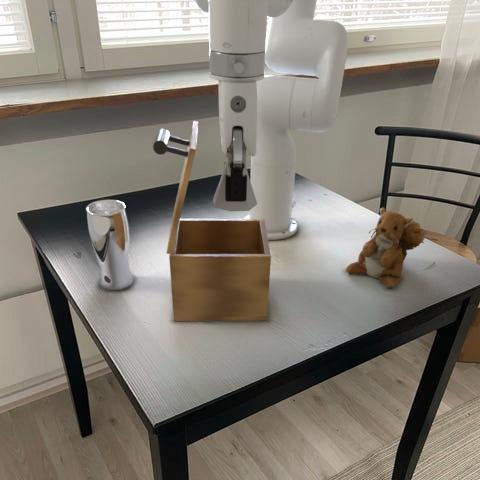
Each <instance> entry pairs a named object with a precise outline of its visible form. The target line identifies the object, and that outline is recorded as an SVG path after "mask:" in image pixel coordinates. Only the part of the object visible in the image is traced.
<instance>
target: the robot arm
mask: <svg viewBox="0 0 480 480" xmlns="http://www.w3.org/2000/svg"><path fill="white" fill-rule="evenodd" d="M194 3H195V5H196V6H197V7H198V8H199V9H200V10H201V11H202V12H204V13H205V14H208V42H209V43H208V48H209V50H208V56H209V57H208V58H209V61H208V62H209V78H211V79H212V80H215V81H217V82H218V83H217V84H218V117H219V118H218V123H219V133H220V143H221V150H222V154H223V155H224V156H225V158H226V157H227V175H225V200H226V201H238V202H244V201H246V197H247V175H246V168H247V154H248V155H250V176H249V179H250V182H251V185H252V188H253V192H254V195H255V198H256V201H257V205H256V206H255V207H253V208H252V209H251V210H249V211H248V215H246V216H245V217H244V218H243V219H264V221H265V227H266V232H267V237H268V241H269V240H271V241H272V240H273V241H277V240H283V239H287V238H289V237H292V236H293V235H295V234H296V233H297V231H298V222H297V220H296V219H295V218H294V217H292V216H293V215H292V213H293V209H294V208H295V207H296V206H297V202H296V200H295V199H294V191H295V180H296V170H297V168H296V167H297V159H298V158H297V157H298V152H297V146H296V143H295V141H294V139H293V138H292V137H293V136H291V135H290V133H289V131H298V132H306V133H307V132H308V133H326V132H328V131H330V130H331V129H332V128H333V127H334V125H335V123H336V120H337V115H338V110H339V105H340V100H341V93H342V86H343V81H344V75H345V68H346V63H347V55H348V45H349V43H348V42H349V41H348V32H347V30H346V29H347V28H346V27H345V26H344V25H343V24H342V23H340V22H338V21H334V20H325V19H314V17H315V11H316V5H317V0H194ZM266 67H267V68H268V69H269V70H270V71H272V72H275V73H279V74H286V75H279V74H278V75H277V74H274V75H273V74H272V75H271V74H269V75H265V70H266ZM291 75H295V76H291ZM296 75H297V76H296ZM300 76H301V77H300ZM303 76H308V77H303ZM309 76H310V77H309ZM314 77H316V78H314ZM232 137H233V138H232ZM230 150H233V154H230ZM242 150H243V154H242ZM231 159H233V162H231ZM225 163H226V161H224V164H225Z"/></svg>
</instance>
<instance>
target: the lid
mask: <svg viewBox="0 0 480 480" xmlns="http://www.w3.org/2000/svg"><path fill="white" fill-rule="evenodd" d="M199 123H200V122H199V121H196V120H193V122H192V127H191V131H190V136H189V139H185V138H182V137H178V136H174V135H171V133H170V131H169V130H168V129H166V128H160V129H159V130H158V131H157V133H156V134H155V135H156V136H155V138H154V142H153V145H152V149H153V151H154V153H155V154H157V155H159V156H161V155H165V154H166V153H170V154H174V155H178V156H182V157H185V158H184V162H183V167H182V171H181V176H180V180H179V185H178V189H177V194H176V198H175V203H174V208H173V210H172V211H173V212H172V216H171V223H170V229H169V236H168V242H167V248H166V254H167V255H170V254H172V251H173V246H174V242H175V238H176V233H177V229H178V225H179V220H180V219H181V216H182V212H183V207H184V204H185V199H186V194H187V190H188V185H189V181H190V177H191V173H192V168H193V164H194V160H195V156H196V152H197V143H198V133H199ZM170 142H171V143H175V144H179V145H182V146H186V148H187V149H186V150H185V149H183V148H178V147H174V146H171V145H169V144H170Z"/></svg>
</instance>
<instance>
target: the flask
mask: <svg viewBox="0 0 480 480" xmlns="http://www.w3.org/2000/svg"><path fill="white" fill-rule="evenodd" d="M232 138H233V137H232ZM230 154H233V150H230ZM242 154H243V150H242ZM225 162H226V163H225ZM225 162H224V167H223V170H222V172H221V176H220V179H219V182H218V184H217V187H216V190H215V193H214V195H213V198H212V202H213V208H216V209H220V210H223V211H227V212H249V210H251V209H252V208H253V207H255V206H256V205H257V201H256V198H255V195H254V192H253V188H252V185H251V182H250V176H249V172H248V168H247V167H246V175H247V197H246V201H244V202H238V201H226V200H225V175H227V157H226V156H225ZM231 162H233V159H231Z"/></svg>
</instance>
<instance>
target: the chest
mask: <svg viewBox="0 0 480 480" xmlns="http://www.w3.org/2000/svg"><path fill="white" fill-rule="evenodd" d="M168 255H169V257H168V259H169V271H170V274H169V275H170V285H171V286H170V287H171V288H170V289H171V300H172V301H171V302H172V316H173V321H174V322H225V321H226V322H229V321H230V322H234V321H235V322H237V321H239V322H240V321H241V322H242V321H246V322H247V321H249V322H251V321H252V322H253V321H255V322H256V321H268V310H269V296H270V295H269V293H270V280H271V264H272V254H271V248H270V243H269V240H268V237H267V232H266V227H265V221H264V219H244V218H180V220H179V225H178V229H177V233H176V238H175V242H174V246H173V251H172V254H168Z"/></svg>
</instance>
